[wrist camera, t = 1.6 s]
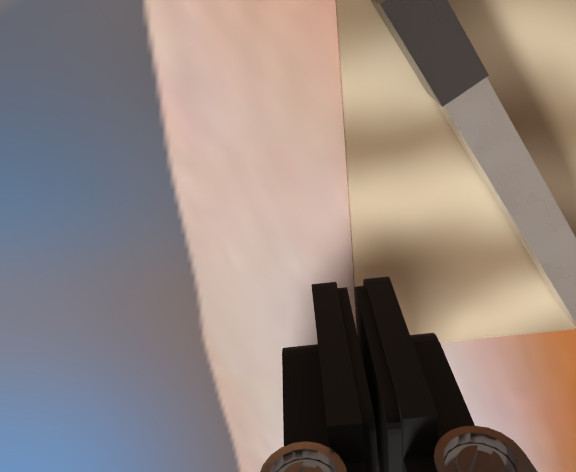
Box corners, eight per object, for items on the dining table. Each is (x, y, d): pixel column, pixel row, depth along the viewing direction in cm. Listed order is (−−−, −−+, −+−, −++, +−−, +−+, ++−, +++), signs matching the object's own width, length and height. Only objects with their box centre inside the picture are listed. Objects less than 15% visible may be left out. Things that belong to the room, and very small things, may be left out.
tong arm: (654, 305, 31) (690, 338, 28) (580, 343, 32) (608, 378, 30) (462, -72, 22) (487, -75, 20) (370, -1, 24) (381, 5, 21)
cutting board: (712, 310, 32) (718, 314, 32) (358, 345, 33) (359, 350, 33) (861, -193, 21) (873, -197, 21) (327, -124, 22) (328, -125, 22)
